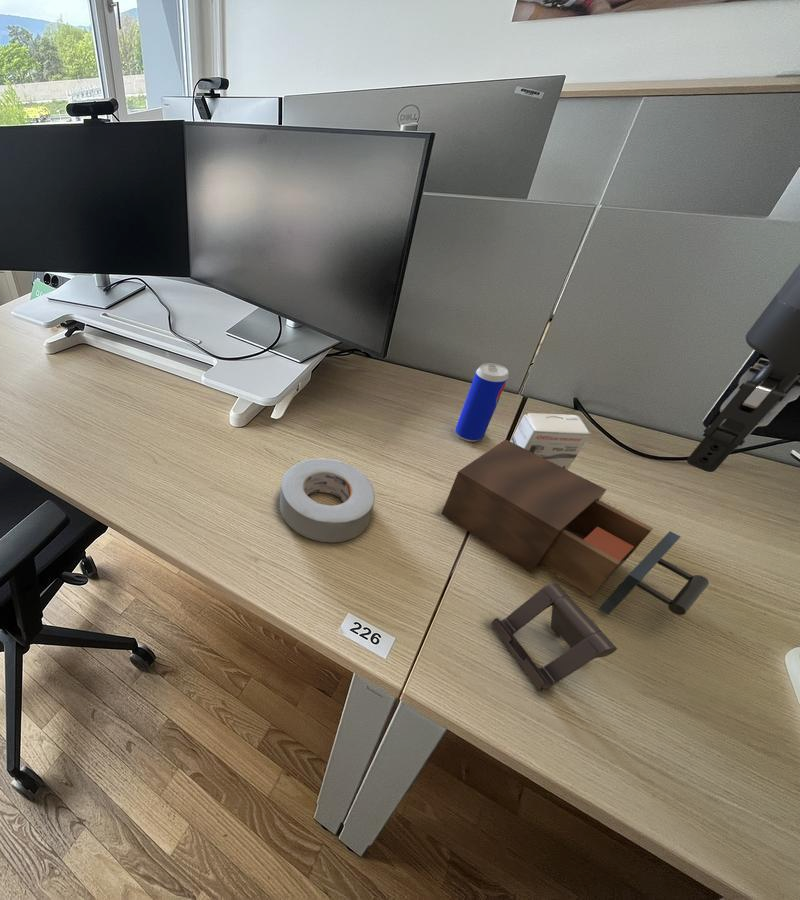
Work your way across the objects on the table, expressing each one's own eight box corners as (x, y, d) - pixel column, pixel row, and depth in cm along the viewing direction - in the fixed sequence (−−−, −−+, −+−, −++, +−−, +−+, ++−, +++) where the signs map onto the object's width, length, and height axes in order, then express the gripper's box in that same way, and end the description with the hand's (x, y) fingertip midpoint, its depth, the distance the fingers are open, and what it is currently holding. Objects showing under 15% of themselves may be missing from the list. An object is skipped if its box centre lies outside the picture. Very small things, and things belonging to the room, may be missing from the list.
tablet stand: (487, 625, 62) (509, 590, 57) (539, 613, 63) (566, 577, 58) (536, 691, 56) (566, 659, 50) (593, 677, 57) (630, 643, 51)
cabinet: (575, 533, 73) (606, 489, 67) (531, 573, 68) (560, 530, 62) (486, 481, 83) (505, 439, 76) (441, 513, 78) (458, 471, 71)
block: (617, 566, 66) (634, 546, 63) (602, 582, 64) (618, 562, 61) (582, 545, 69) (597, 526, 66) (566, 560, 67) (581, 541, 64)
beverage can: (484, 444, 90) (513, 378, 81) (455, 441, 92) (480, 375, 82) (480, 428, 94) (507, 363, 84) (453, 425, 95) (476, 361, 86)
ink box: (507, 482, 82) (534, 429, 75) (498, 463, 86) (522, 411, 78) (561, 485, 81) (594, 432, 73) (549, 466, 85) (579, 413, 77)
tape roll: (374, 488, 83) (380, 467, 80) (364, 553, 73) (369, 532, 69) (290, 470, 88) (292, 450, 85) (269, 529, 78) (270, 508, 74)
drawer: (691, 596, 63) (730, 561, 57) (653, 644, 58) (691, 611, 53) (548, 514, 75) (569, 479, 70) (507, 549, 70) (527, 514, 65)
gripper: (892, 343, 33) (737, 500, 43) (935, 290, 38) (788, 441, 49) (751, 311, 38) (642, 459, 48) (807, 268, 43) (698, 409, 54)
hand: (716, 449), depth 49 cm, fingers open, 8 cm apart
